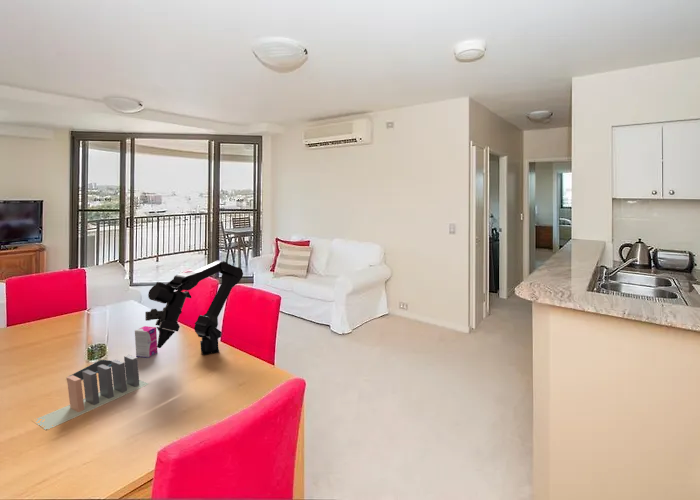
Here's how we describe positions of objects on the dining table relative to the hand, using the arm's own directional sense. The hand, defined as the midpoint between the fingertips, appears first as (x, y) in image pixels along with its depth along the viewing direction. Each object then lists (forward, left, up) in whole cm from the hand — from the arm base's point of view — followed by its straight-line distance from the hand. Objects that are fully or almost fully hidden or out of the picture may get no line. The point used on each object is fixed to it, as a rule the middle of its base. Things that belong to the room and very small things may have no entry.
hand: (158, 347), depth 137 cm
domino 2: (+19, +13, -10) cm, 25 cm away
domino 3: (+15, +11, -10) cm, 21 cm away
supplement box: (+5, -20, -10) cm, 23 cm away
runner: (+18, +13, -10) cm, 24 cm away
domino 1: (+23, +16, -10) cm, 29 cm away
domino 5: (+8, +6, -10) cm, 14 cm away
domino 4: (+12, +8, -10) cm, 17 cm away
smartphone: (+23, -13, -10) cm, 29 cm away
